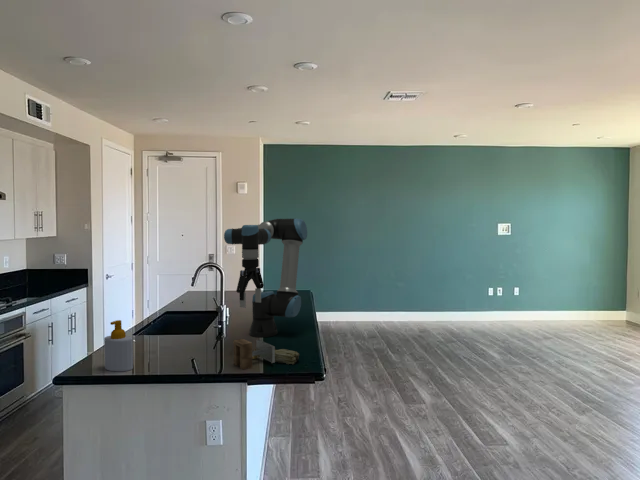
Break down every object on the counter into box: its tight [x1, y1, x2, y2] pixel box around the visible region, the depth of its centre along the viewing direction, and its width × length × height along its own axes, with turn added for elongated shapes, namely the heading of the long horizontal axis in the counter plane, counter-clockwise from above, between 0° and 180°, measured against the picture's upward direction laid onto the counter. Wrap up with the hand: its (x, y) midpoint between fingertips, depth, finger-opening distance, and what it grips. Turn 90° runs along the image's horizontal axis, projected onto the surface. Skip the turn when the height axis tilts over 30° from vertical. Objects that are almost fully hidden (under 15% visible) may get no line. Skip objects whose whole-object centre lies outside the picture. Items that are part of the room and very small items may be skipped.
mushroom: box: [270, 348, 300, 365], centre depth 201 cm, size 14×10×5 cm, turn 70°
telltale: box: [252, 348, 259, 360], centre depth 205 cm, size 2×1×4 cm, turn 127°
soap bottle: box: [103, 319, 134, 372], centre depth 192 cm, size 13×8×20 cm, turn 69°
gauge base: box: [233, 338, 254, 370], centre depth 199 cm, size 12×12×10 cm
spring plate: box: [252, 339, 276, 364], centre depth 197 cm, size 10×14×7 cm
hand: (250, 304), depth 209 cm, fingers open, 13 cm apart
